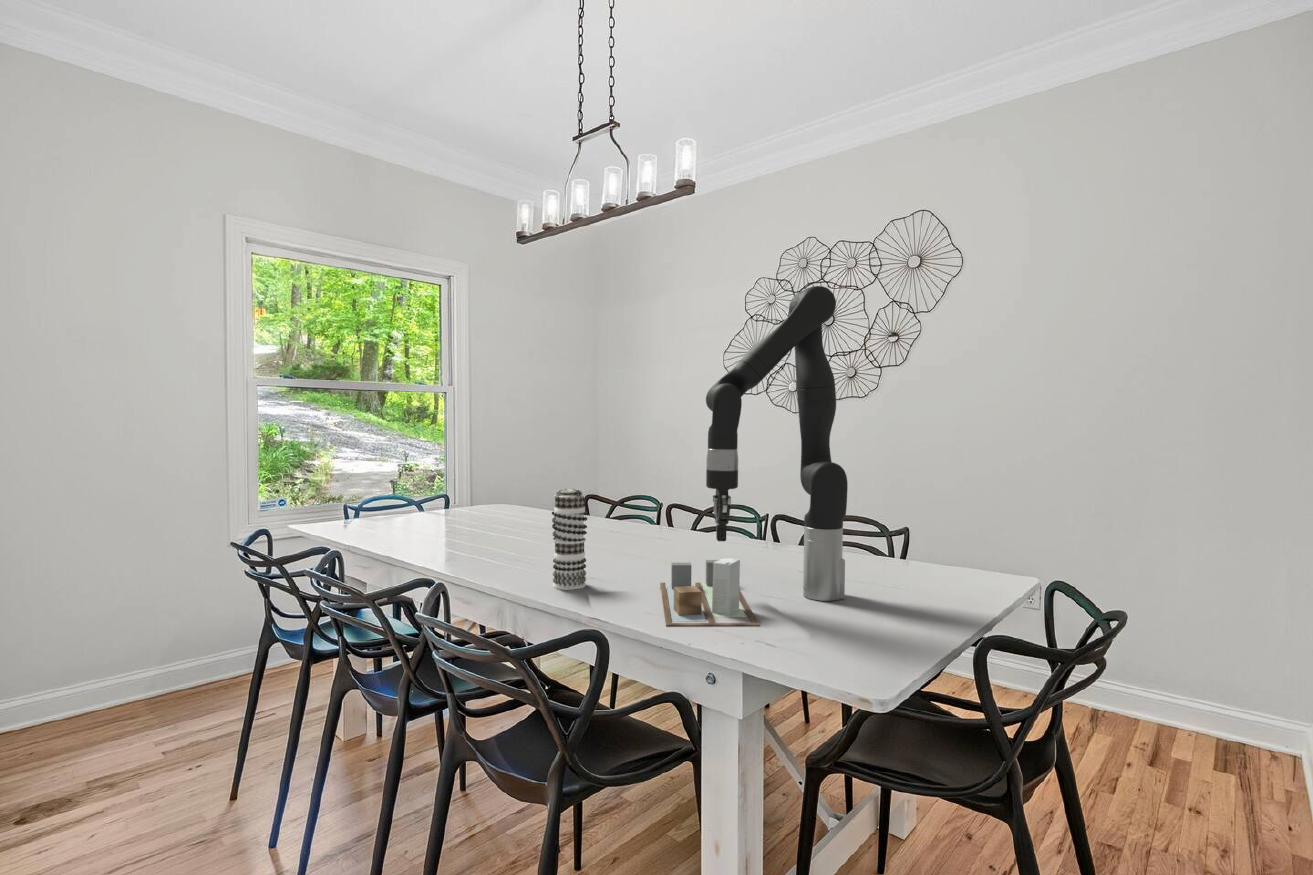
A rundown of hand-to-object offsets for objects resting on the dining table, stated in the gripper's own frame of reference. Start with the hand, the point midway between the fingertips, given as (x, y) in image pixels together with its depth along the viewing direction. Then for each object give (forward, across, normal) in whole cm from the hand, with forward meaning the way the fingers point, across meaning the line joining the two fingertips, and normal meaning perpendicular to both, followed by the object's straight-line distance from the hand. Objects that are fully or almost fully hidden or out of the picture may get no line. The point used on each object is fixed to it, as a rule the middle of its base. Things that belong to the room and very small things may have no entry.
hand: (721, 540), depth 162 cm
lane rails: (+14, -5, +4) cm, 16 cm away
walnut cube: (+13, -13, +9) cm, 21 cm away
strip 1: (+15, -5, +9) cm, 18 cm away
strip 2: (+14, -2, 0) cm, 15 cm away
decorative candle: (+15, +15, +37) cm, 43 cm away
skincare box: (+14, -12, 0) cm, 19 cm away
